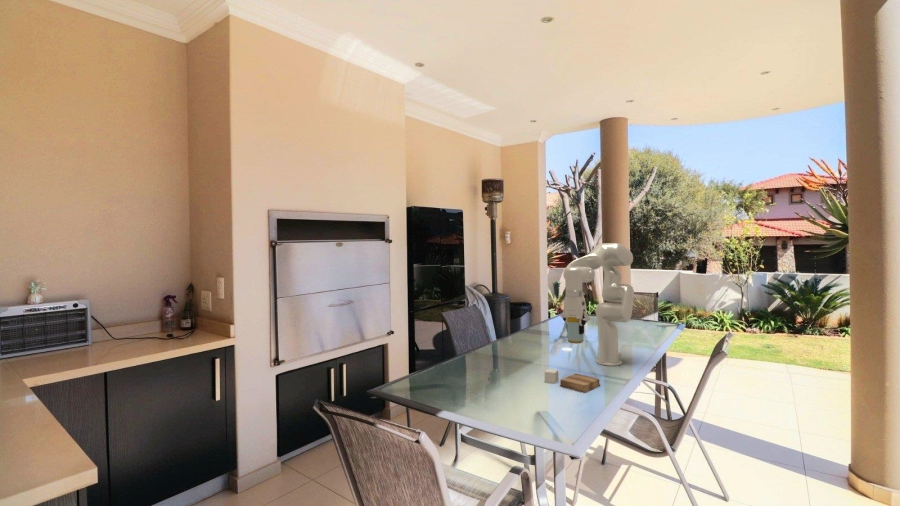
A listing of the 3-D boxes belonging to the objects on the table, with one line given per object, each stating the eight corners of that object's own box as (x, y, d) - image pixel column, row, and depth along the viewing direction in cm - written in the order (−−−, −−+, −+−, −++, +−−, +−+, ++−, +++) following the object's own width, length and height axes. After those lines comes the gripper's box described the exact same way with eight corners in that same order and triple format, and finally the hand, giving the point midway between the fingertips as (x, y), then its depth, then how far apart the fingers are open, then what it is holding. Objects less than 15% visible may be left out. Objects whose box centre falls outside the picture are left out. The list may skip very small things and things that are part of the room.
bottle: (584, 343, 187) (583, 311, 187) (568, 343, 188) (567, 311, 188) (582, 340, 194) (581, 308, 194) (567, 340, 195) (566, 308, 195)
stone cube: (548, 379, 194) (547, 368, 194) (558, 380, 192) (558, 369, 192) (544, 382, 190) (544, 371, 190) (555, 383, 187) (555, 372, 187)
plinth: (575, 379, 191) (575, 373, 191) (600, 385, 182) (600, 379, 182) (559, 386, 183) (559, 379, 183) (584, 393, 174) (584, 386, 174)
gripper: (595, 294, 187) (596, 334, 187) (563, 292, 200) (564, 329, 200) (585, 296, 182) (586, 336, 182) (553, 294, 195) (555, 331, 195)
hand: (575, 332), depth 191 cm, fingers closed on bottle, 5 cm apart
